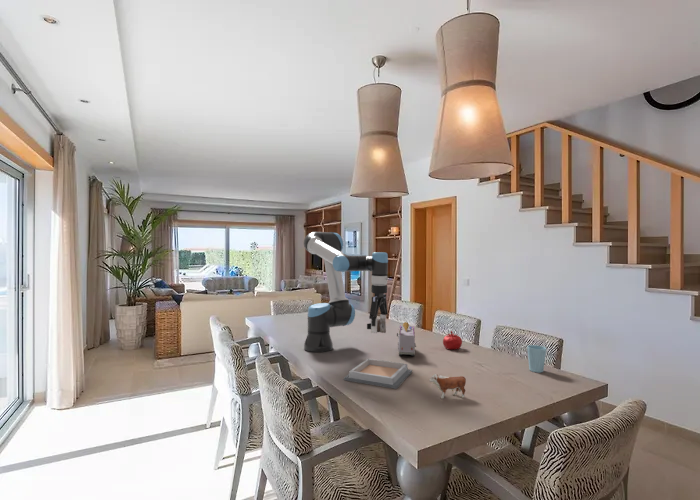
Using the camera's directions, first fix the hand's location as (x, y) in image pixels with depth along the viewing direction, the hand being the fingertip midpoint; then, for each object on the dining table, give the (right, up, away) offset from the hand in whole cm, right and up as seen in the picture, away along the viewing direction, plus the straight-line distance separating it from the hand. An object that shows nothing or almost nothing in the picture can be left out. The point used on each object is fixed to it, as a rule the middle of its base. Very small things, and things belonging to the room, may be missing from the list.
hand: (378, 330), depth 181 cm
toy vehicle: (+15, -15, +14) cm, 25 cm away
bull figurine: (+22, -15, -44) cm, 51 cm away
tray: (-1, -14, -23) cm, 27 cm away
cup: (+69, -15, -13) cm, 72 cm away
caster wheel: (-1, -1, 0) cm, 2 cm away
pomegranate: (+42, -15, +24) cm, 50 cm away
